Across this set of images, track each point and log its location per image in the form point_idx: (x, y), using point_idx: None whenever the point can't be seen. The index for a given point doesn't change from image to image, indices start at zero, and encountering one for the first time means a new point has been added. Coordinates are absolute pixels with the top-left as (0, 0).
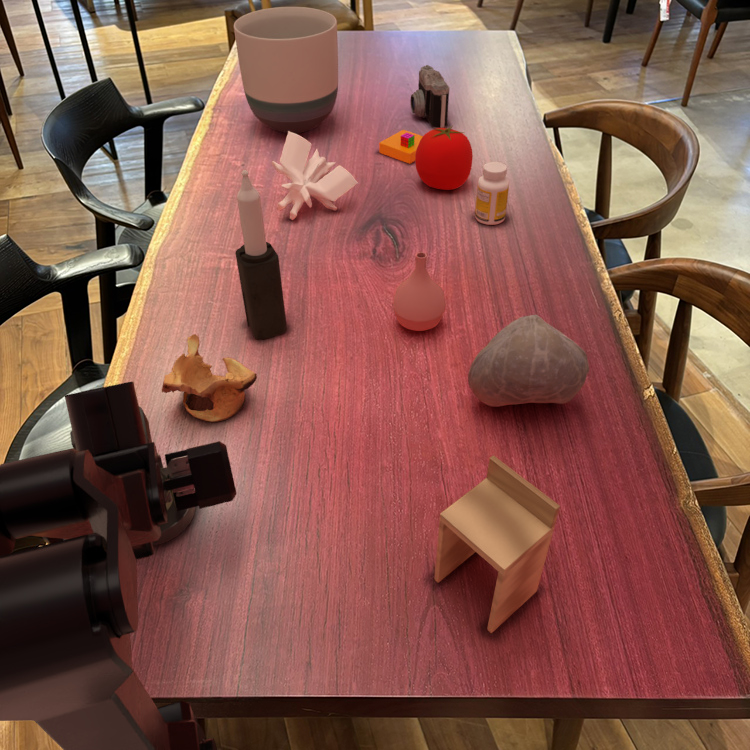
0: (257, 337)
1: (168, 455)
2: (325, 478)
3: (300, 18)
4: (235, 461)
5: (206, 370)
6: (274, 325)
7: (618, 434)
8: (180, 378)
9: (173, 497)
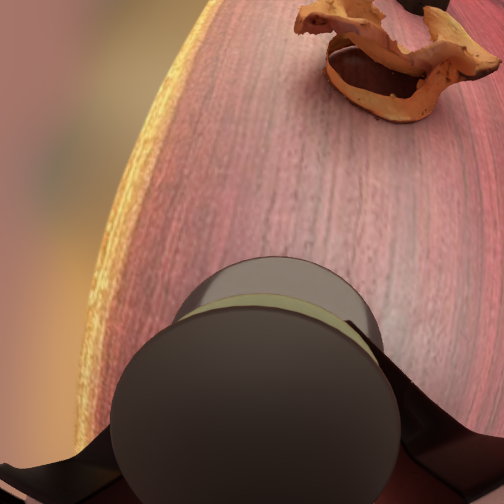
0: (413, 9)
1: (480, 495)
2: None
3: None
4: (449, 237)
5: (374, 20)
6: (438, 3)
7: None
8: (345, 13)
9: (380, 498)
